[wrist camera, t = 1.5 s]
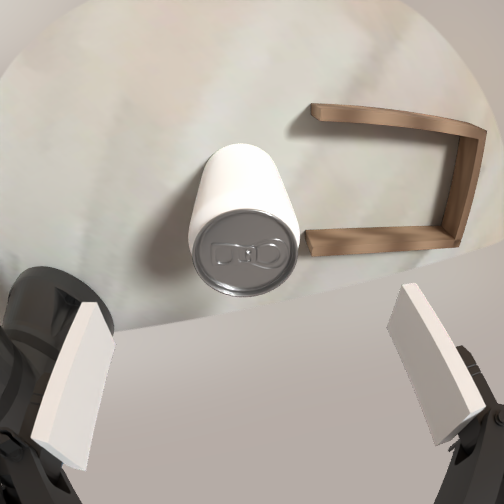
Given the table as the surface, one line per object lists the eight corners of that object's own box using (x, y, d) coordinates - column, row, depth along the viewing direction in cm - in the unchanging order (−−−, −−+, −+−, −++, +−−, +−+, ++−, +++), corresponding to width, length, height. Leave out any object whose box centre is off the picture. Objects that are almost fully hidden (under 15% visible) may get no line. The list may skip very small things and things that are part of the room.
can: (275, 211, 28) (298, 301, 19) (204, 211, 28) (189, 303, 18) (279, 142, 25) (313, 202, 15) (201, 142, 25) (178, 202, 15)
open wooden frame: (305, 239, 30) (311, 256, 28) (311, 103, 23) (320, 108, 21) (445, 233, 31) (458, 247, 28) (468, 122, 24) (487, 130, 21)
